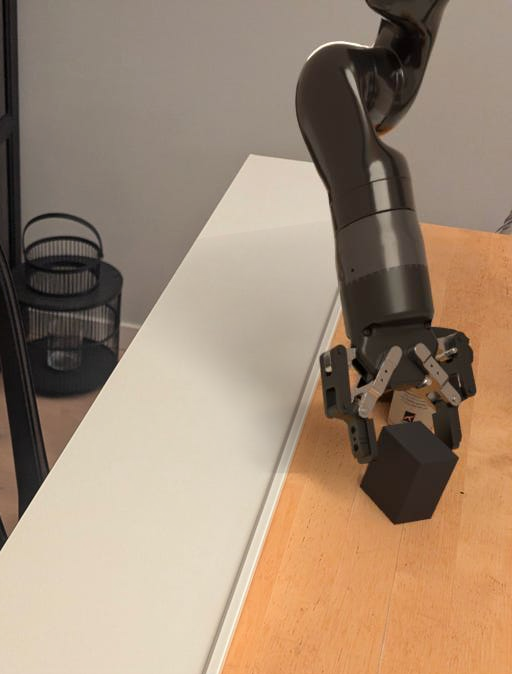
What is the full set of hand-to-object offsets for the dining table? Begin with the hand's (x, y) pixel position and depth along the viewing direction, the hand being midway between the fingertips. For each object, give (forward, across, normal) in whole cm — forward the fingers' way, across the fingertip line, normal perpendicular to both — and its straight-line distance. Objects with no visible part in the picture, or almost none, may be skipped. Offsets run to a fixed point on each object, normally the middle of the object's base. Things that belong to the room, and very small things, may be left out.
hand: (409, 456), depth 83 cm
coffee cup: (-5, +12, +14) cm, 19 cm away
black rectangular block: (+5, 0, +4) cm, 7 cm away
